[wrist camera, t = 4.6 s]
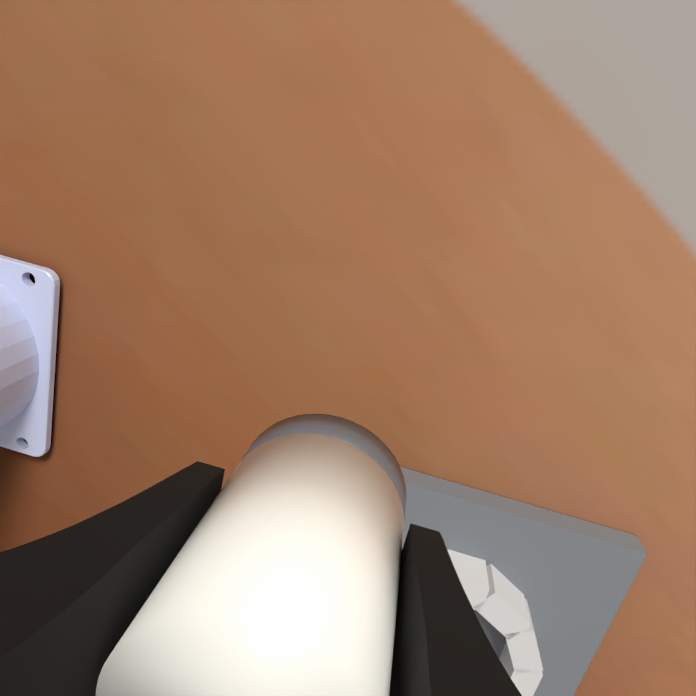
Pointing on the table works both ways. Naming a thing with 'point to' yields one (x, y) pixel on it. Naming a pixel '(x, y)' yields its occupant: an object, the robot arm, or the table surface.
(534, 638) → the socket holder
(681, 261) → the table surface
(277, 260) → the table surface
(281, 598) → the rounded peg
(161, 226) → the table surface
